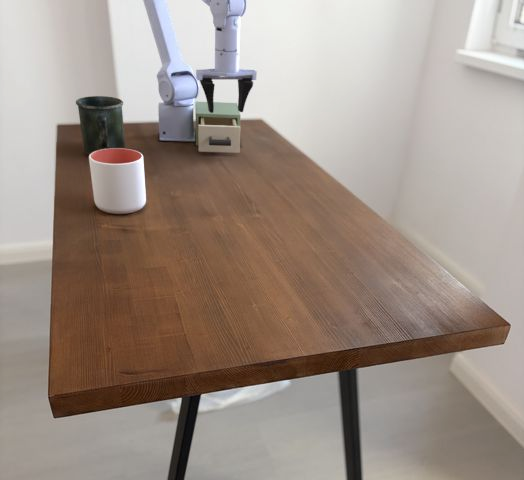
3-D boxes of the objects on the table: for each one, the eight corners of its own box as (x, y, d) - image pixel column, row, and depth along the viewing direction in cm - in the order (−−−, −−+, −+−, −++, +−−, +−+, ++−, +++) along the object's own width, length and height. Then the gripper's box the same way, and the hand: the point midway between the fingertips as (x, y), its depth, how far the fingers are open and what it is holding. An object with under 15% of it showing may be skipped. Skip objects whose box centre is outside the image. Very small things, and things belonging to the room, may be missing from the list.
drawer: (240, 158, 136) (241, 132, 132) (198, 157, 135) (198, 130, 131) (236, 139, 150) (237, 114, 146) (198, 137, 149) (197, 113, 145)
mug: (126, 146, 142) (121, 96, 135) (130, 164, 131) (125, 110, 123) (82, 146, 139) (75, 95, 132) (82, 165, 128) (75, 110, 121)
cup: (105, 219, 104) (99, 167, 98) (88, 201, 110) (81, 151, 105) (154, 211, 109) (151, 160, 103) (134, 194, 115) (130, 145, 109)
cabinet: (239, 146, 147) (240, 115, 142) (196, 145, 146) (195, 113, 141) (236, 133, 158) (237, 103, 153) (195, 131, 157) (195, 101, 152)
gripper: (201, 52, 123) (201, 116, 131) (261, 53, 127) (258, 114, 135) (193, 47, 128) (194, 108, 136) (252, 48, 133) (249, 108, 141)
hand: (225, 111), depth 136 cm, fingers open, 7 cm apart
